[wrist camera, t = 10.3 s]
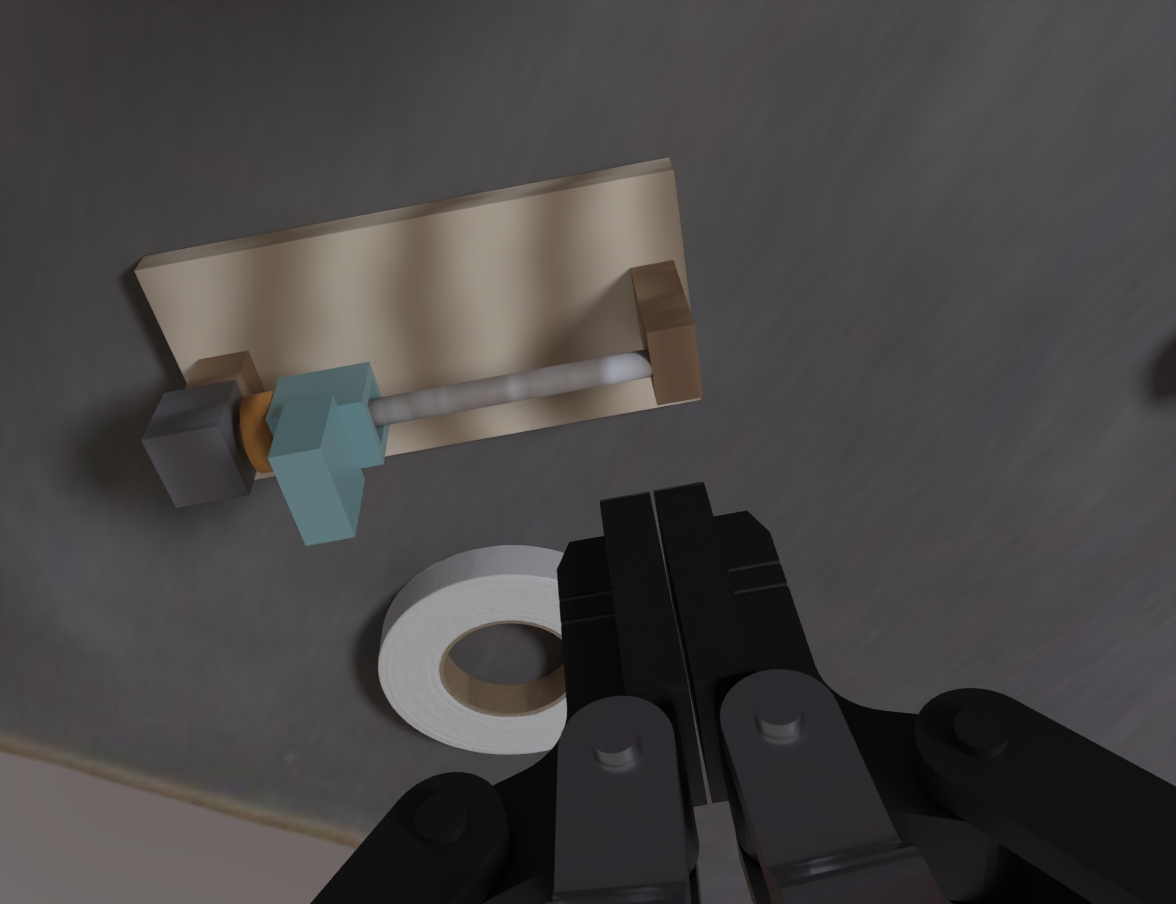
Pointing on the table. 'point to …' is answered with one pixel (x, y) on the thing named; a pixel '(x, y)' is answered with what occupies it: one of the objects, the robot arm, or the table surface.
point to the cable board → (429, 321)
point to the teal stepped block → (325, 447)
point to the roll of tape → (451, 611)
